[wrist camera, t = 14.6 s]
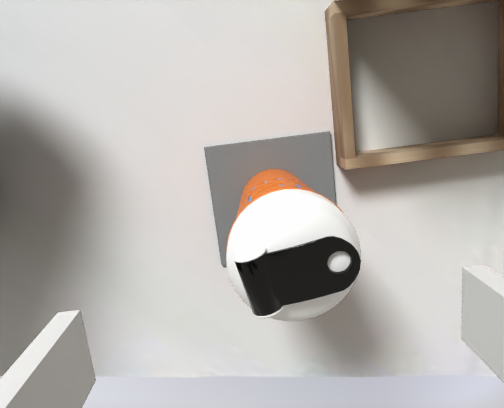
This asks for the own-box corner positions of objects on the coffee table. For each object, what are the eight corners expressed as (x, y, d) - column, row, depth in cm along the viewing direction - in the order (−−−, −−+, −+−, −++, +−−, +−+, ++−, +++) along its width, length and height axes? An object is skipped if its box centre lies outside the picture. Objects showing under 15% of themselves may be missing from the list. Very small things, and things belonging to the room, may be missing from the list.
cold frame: (336, 164, 44) (412, 210, 24) (323, -13, 40) (400, -127, 20) (518, 141, 44) (742, 168, 24) (522, -38, 40) (792, -179, 20)
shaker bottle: (329, 219, 45) (397, 306, 25) (255, 255, 45) (265, 366, 26) (294, 144, 43) (337, 175, 23) (217, 183, 43) (196, 245, 24)
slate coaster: (221, 264, 46) (221, 265, 46) (204, 147, 43) (204, 147, 43) (338, 249, 46) (339, 251, 45) (329, 131, 43) (330, 131, 42)
